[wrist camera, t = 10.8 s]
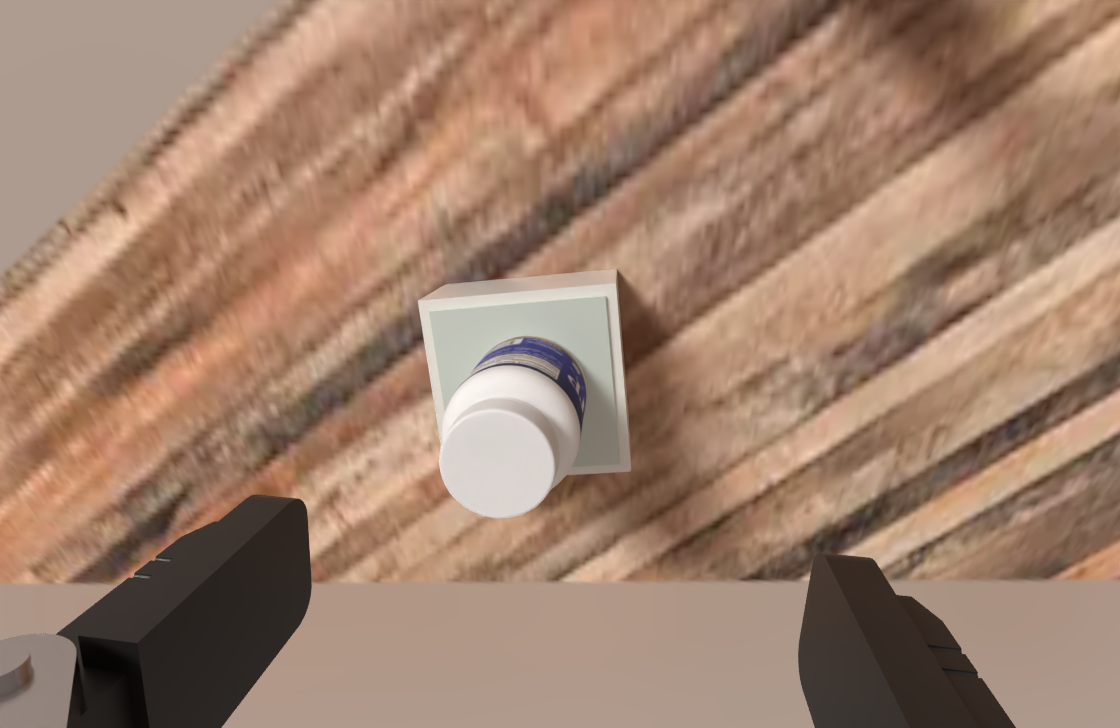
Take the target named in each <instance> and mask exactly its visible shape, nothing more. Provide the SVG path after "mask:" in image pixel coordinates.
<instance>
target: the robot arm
mask: <svg viewBox="0 0 1120 728" xmlns="http://www.w3.org/2000/svg"><path fill="white" fill-rule="evenodd" d="M310 596H311V566H310V550H309V533H308V516H307V509H306V506H305V504H304V502H303V501H302V500H300V499H295V498H286V497H276V496H266V495H252V496H250V497H248V498H247V499H245V500H244V501H243V502H242V503H241V504H239V505H238V506H237V507H236V508H234V509H233V510H232V511H231V512H229V513H228V514H227V515H226V516H225V517H223V518H222V519H221V520H220V521H218V522H213V523H210V524H208V525H206V526H204V527H202V528H200V529H197V530H195V531H193V532H191V533H189V534H186V535H184V536H182V537H180V538H179V539H178V540H176V541H175V542H174V543H173V544H171V545H170V546H169V547H167V548H166V549H165V550H164V551H162V552H161V553H160V554H158V555H157V556H156V559H155V561H149V562H148V563H147V564H146V565H144V566H143V567H142V568H140V569H139V570H138V571H137V572H135V573H134V577H133V578H128V579H126V580H125V581H124V582H122V583H121V584H120V585H119V586H117V587H116V588H115V589H113V590H112V591H111V592H110V593H108V594H107V595H106V596H105V597H103V598H102V599H101V600H99V601H98V602H97V603H95V604H94V605H93V606H92V607H90V608H89V609H88V610H86V611H85V612H84V613H83V614H82V615H80V616H79V617H77V618H76V619H75V620H74V621H73V622H71V623H70V624H69V625H67V626H66V627H65V628H63V629H62V630H61V631H60V632H58V633H57V634H56V635H54V634H30V635H22V636H17V637H12V638H8V639H4V640H1V641H0V728H221V727H222V726H223V725H224V723H225V722H226V721H227V719H228V718H229V717H230V716H231V714H232V713H233V712H234V710H235V709H236V708H237V706H238V705H239V704H240V703H241V701H242V700H243V699H244V697H245V696H246V695H247V693H248V692H249V691H250V689H251V688H252V687H253V685H254V684H255V683H256V682H257V680H258V679H259V678H260V676H261V675H262V674H263V672H264V671H265V670H266V668H267V667H268V666H269V665H270V663H271V662H272V661H273V659H274V658H275V657H276V655H277V654H278V653H279V651H280V650H281V649H282V648H283V646H284V645H285V644H286V642H287V641H288V639H289V638H290V637H291V636H292V634H293V633H294V632H295V630H296V629H297V628H298V627H299V625H300V624H301V622H302V620H303V618H304V616H305V614H306V611H307V608H308V605H309V601H310ZM798 659H799V660H798V662H799V674H800V680H801V685H802V689H803V692H804V695H805V698H806V701H807V704H808V707H809V711H810V714H811V717H812V720H813V723H814V726H815V728H1016V727H1015V726H1014V724H1013V723H1012V721H1011V720H1010V719H1009V717H1008V716H1007V714H1006V713H1005V711H1004V710H1003V708H1002V707H1001V706H1000V704H999V703H998V701H997V700H996V698H995V697H994V695H993V694H992V693H991V691H990V690H989V688H988V687H987V685H986V684H985V682H984V681H983V679H982V678H978V675H977V673H978V672H977V671H976V669H975V668H974V666H973V665H972V664H971V662H970V660H969V659H968V658H967V656H966V655H965V654H962V653H961V647H960V646H959V645H958V643H957V642H956V640H955V639H954V637H953V636H952V634H951V633H950V631H949V630H948V629H947V627H946V626H945V624H944V623H943V622H942V621H941V620H940V619H939V618H938V617H936V616H935V615H934V614H932V613H931V612H930V611H929V610H928V609H926V608H925V607H924V606H923V605H921V604H920V603H919V602H917V601H916V600H915V599H913V598H912V597H909V596H899V595H896V594H895V592H894V591H893V589H892V588H891V586H890V584H889V583H888V581H887V579H886V578H885V576H884V575H883V573H882V571H881V570H880V568H879V567H878V565H877V563H876V562H875V561H874V560H873V559H872V558H866V557H857V556H847V555H837V554H827V553H818V554H817V555H816V557H815V559H814V561H813V565H812V570H811V575H810V581H809V587H808V593H807V599H806V605H805V611H804V617H803V623H802V628H801V634H800V640H799V653H798Z"/></svg>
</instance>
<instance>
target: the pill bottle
mask: <svg viewBox="0 0 1120 728" xmlns="http://www.w3.org/2000/svg"><path fill="white" fill-rule="evenodd" d="M586 398H587V385H586V380H585V377H584V373H583V371H582V369H581V367H580V365H579V363H578V362H577V360H576V359H575V357H574V356H573V355H572V354H571V353H570V352H569V351H568V350H567V349H566V348H564V347H563V346H562V345H560V344H559V343H557V342H555V341H553V340H550V339H548V338H545V337H541V336H535V335H521V336H515V337H511V338H509V339H506V340H504V341H502V342H500V343H498V344H497V345H495V346H494V347H493V348H491V349H490V350H489V351H488V352H487V353H486V354H485V355H484V357H483V358H482V359H481V360H480V362H479V363H478V364H477V366H476V367H475V368H474V370H473V371H472V372H471V373H470V375H469V376H468V377H467V378H466V379H465V381H464V382H463V383H462V384H461V385H460V386H459V387H458V389H457V390H456V392H455V393H454V395H453V396H452V398H451V400H450V402H449V404H448V406H447V408H446V411H445V414H444V417H443V422H442V446H441V450H440V456H439V465H440V472H441V475H442V478H443V481H444V484H445V486H446V487H447V489H448V491H449V492H450V493H451V495H452V496H453V497H454V498H455V499H456V500H457V501H458V502H459V503H460V504H461V505H462V506H464V507H465V508H467V509H468V510H470V511H472V512H474V513H476V514H479V515H482V516H485V517H489V518H499V519H501V518H512V517H517V516H520V515H522V514H525V513H527V512H529V511H531V510H532V509H534V508H535V507H537V506H538V505H539V504H540V503H541V502H542V501H543V500H544V499H545V498H546V496H547V495H548V493H549V491H550V490H551V489H552V488H554V487H555V486H556V485H557V484H559V483H560V482H561V481H562V480H563V478H564V477H565V476H566V475H567V473H568V472H569V470H570V469H571V467H572V465H573V463H574V461H575V459H576V456H577V453H578V449H579V445H580V439H581V432H582V425H583V418H584V412H585V406H586Z"/></svg>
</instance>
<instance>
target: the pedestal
mask: <svg viewBox="0 0 1120 728" xmlns="http://www.w3.org/2000/svg"><path fill="white" fill-rule="evenodd" d="M418 305H419V311H420V317H421V323H422V330H423V336H424V342H425V349H426V355H427V361H428V367H429V374H430V380H431V386H432V392H433V399H434V405H435V411H436V418H437V424H438V430H439V436H440V443H441V446H442V422H443V417H444V414H445V411H446V408H447V406H448V404H449V402H450V400H451V398H452V396H453V395H454V393H455V392H456V390H457V389H458V387H459V386H460V385H461V384H462V383H463V382H464V381H465V379H466V378H467V377H468V376H469V375H470V373H471V372H472V371H473V370H474V368H475V367H476V366H477V364H478V363H479V362H480V360H481V359H482V358H483V357H484V355H485V354H486V353H487V352H488V351H489V350H490V349H491V348H493V347H494V346H495V345H497V344H498V343H500V342H502V341H504V340H506V339H509V338H511V337H515V336H521V335H535V336H541V337H545V338H548V339H550V340H553V341H555V342H557V343H559V344H560V345H562V346H563V347H564V348H566V349H567V350H568V351H569V352H570V353H571V354H572V355H573V356H574V357H575V359H576V360H577V362H578V363H579V365H580V367H581V369H582V371H583V373H584V377H585V380H586V385H587V398H586V406H585V412H584V418H583V425H582V432H581V439H580V445H579V449H578V453H577V456H576V459H575V461H574V463H573V465H572V467H571V469H570V470H569V472H568V473H567V475H581V474H598V473H616V472H631V447H630V427H629V414H628V402H627V390H626V377H625V365H624V353H623V340H622V328H621V316H620V303H619V291H618V279H617V269H608V270H597V271H586V272H575V273H564V274H554V275H543V276H532V277H521V278H510V279H499V280H488V281H477V282H467V283H456V284H446V285H444V286H442V287H441V288H439V289H437V290H435V291H434V292H432V293H430V294H429V295H427V296H425V297H424V298H422V299H420V300H419V301H418Z"/></svg>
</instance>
